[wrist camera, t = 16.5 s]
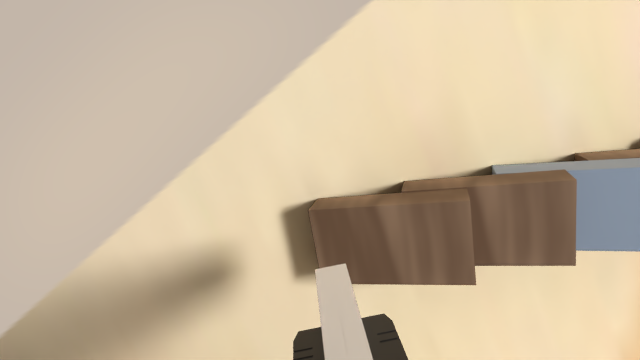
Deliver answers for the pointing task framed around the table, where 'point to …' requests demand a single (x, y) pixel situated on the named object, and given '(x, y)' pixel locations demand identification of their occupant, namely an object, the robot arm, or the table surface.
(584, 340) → the table surface
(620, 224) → the domino
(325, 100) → the table surface
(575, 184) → the domino
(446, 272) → the domino
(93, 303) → the table surface
